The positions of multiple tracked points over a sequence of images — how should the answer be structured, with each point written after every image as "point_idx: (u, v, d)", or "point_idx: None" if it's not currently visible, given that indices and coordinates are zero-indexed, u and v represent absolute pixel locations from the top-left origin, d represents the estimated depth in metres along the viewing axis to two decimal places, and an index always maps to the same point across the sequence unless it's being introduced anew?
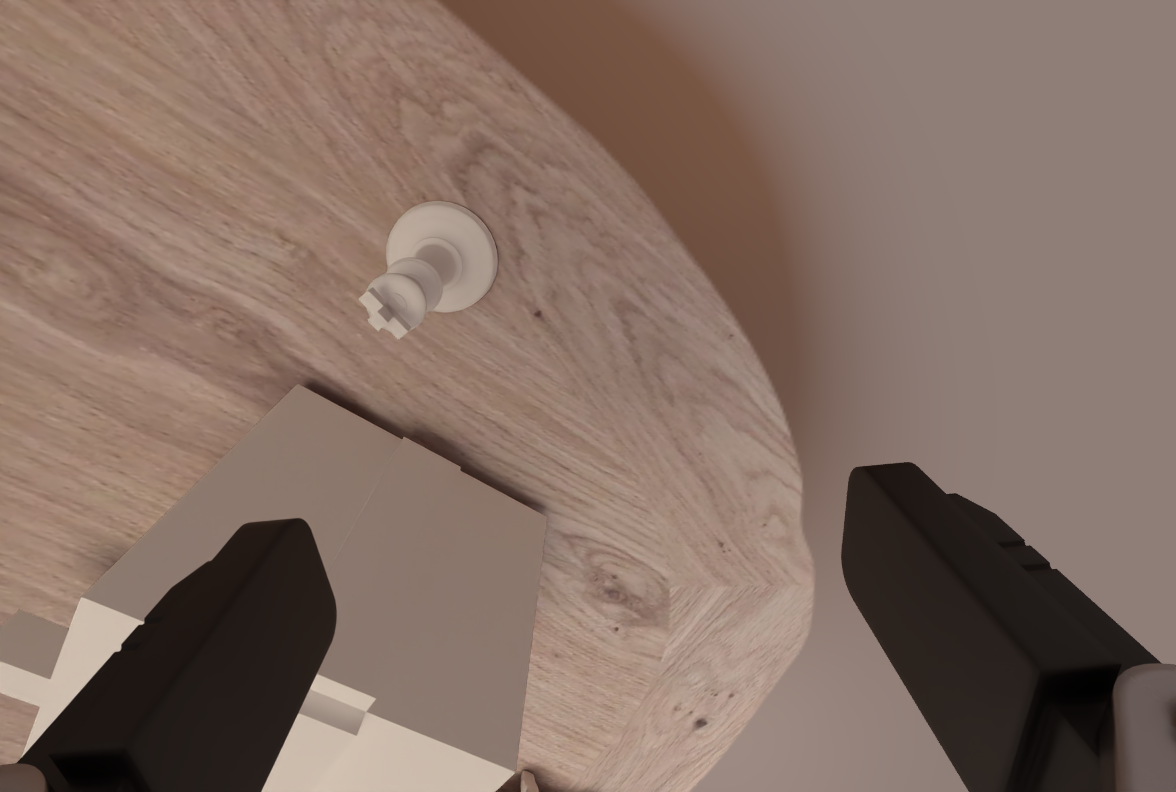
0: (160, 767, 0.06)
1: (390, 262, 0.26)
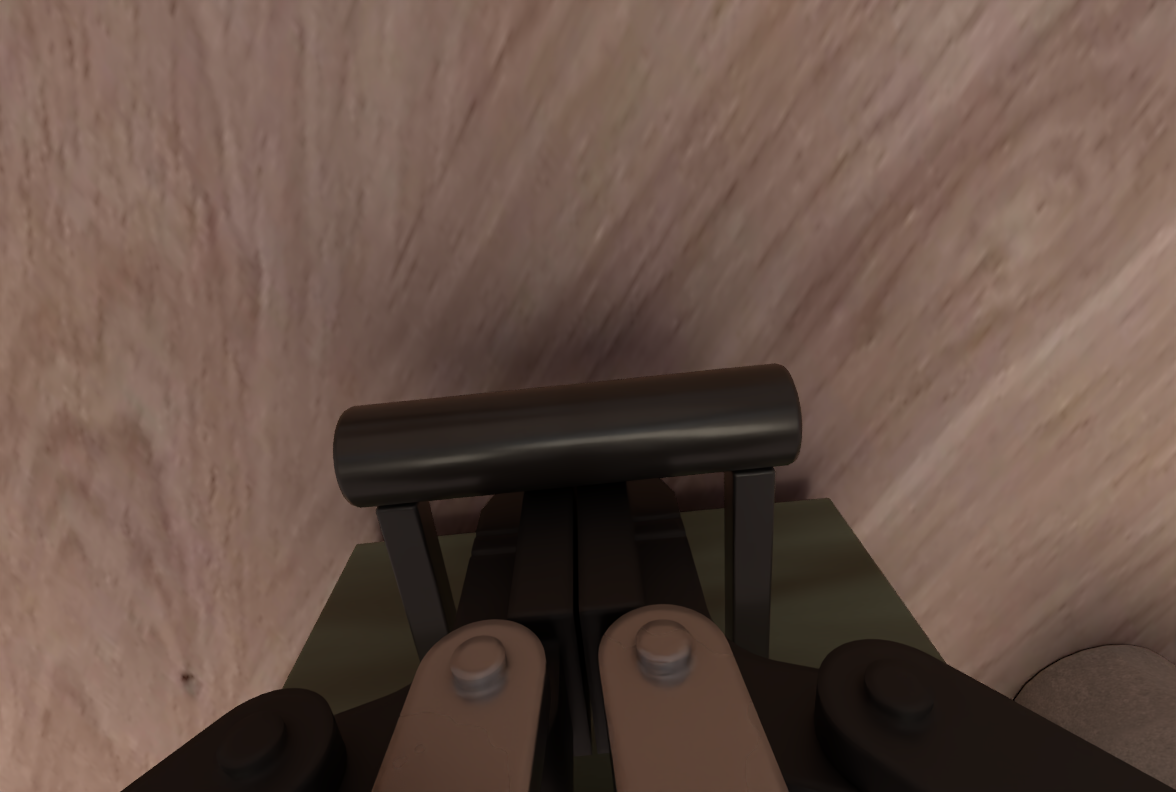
0: (578, 636, 0.06)
1: None
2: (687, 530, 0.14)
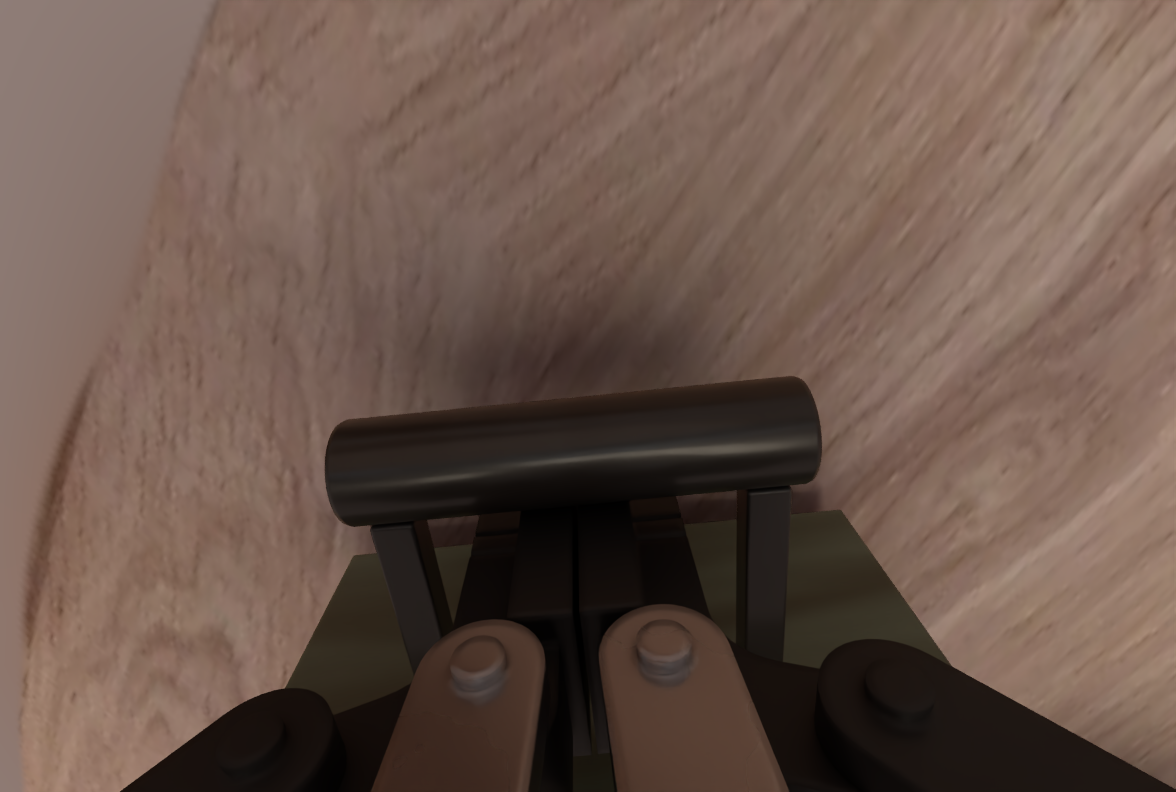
0: (577, 636, 0.06)
1: None
2: (694, 543, 0.14)
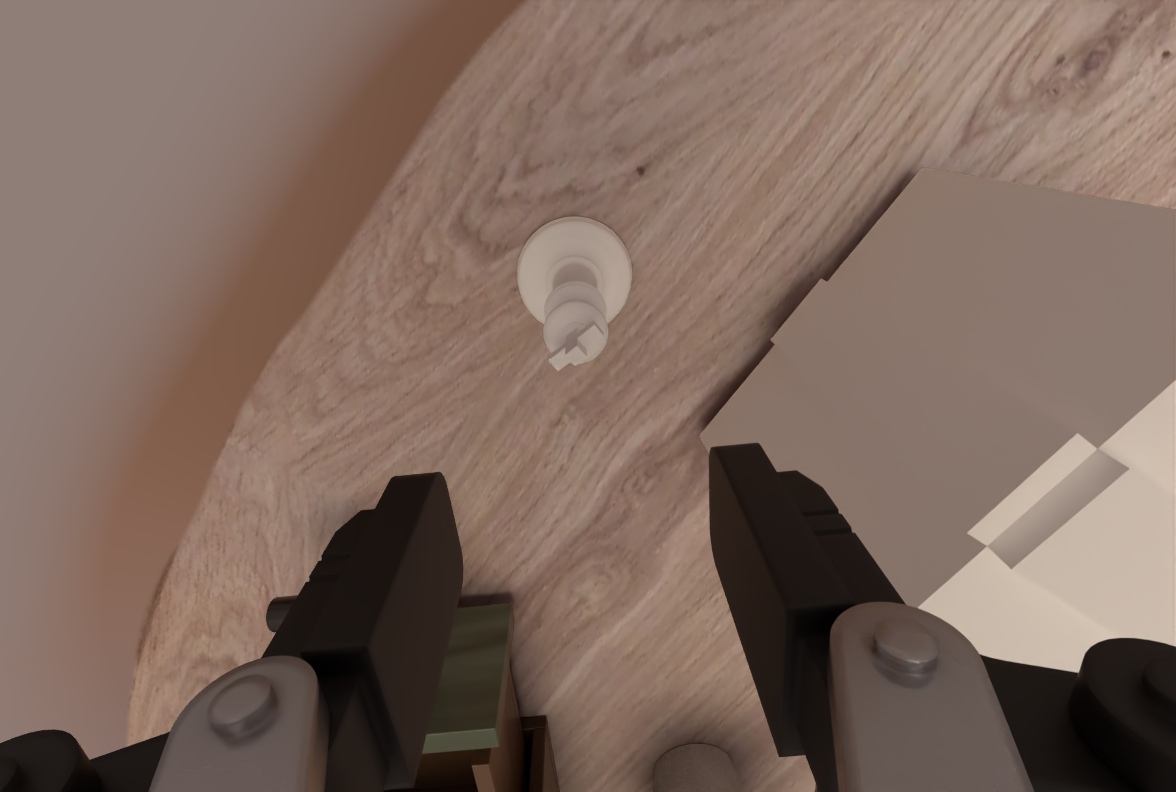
0: (384, 669, 0.06)
1: None
2: None
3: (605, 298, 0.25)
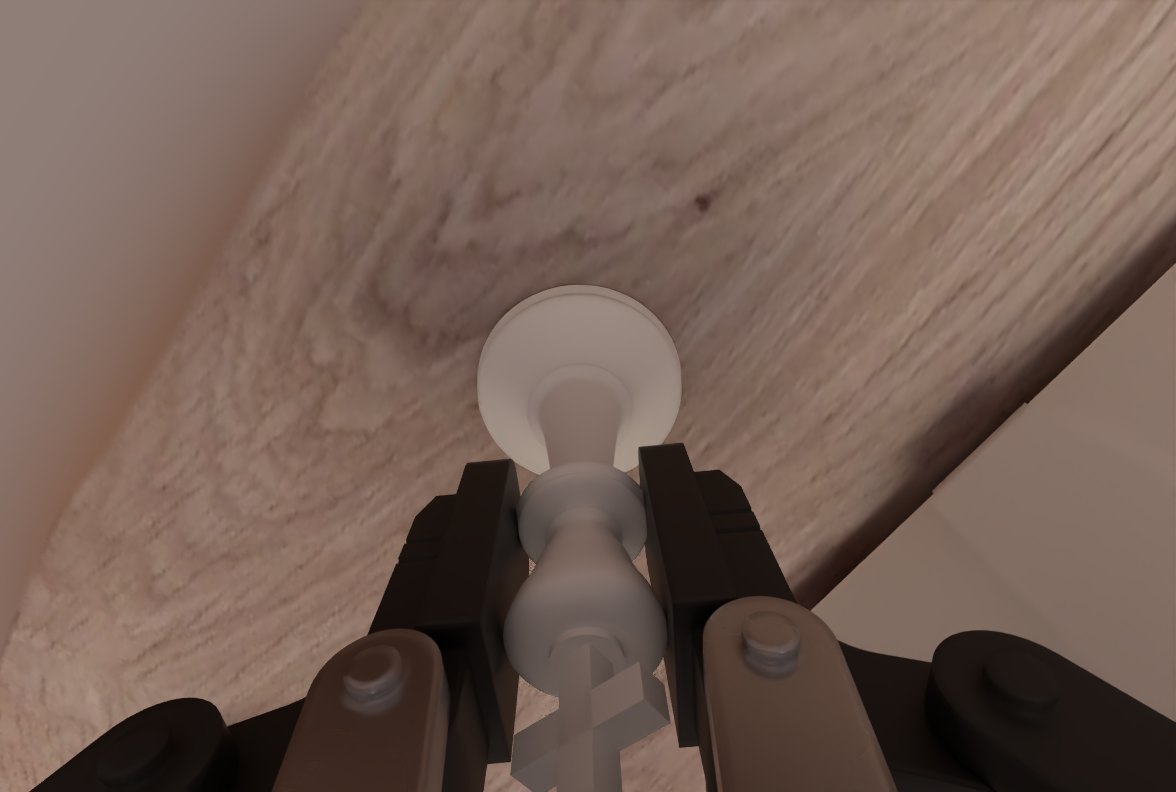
0: (490, 644, 0.06)
1: None
2: None
3: (635, 430, 0.14)
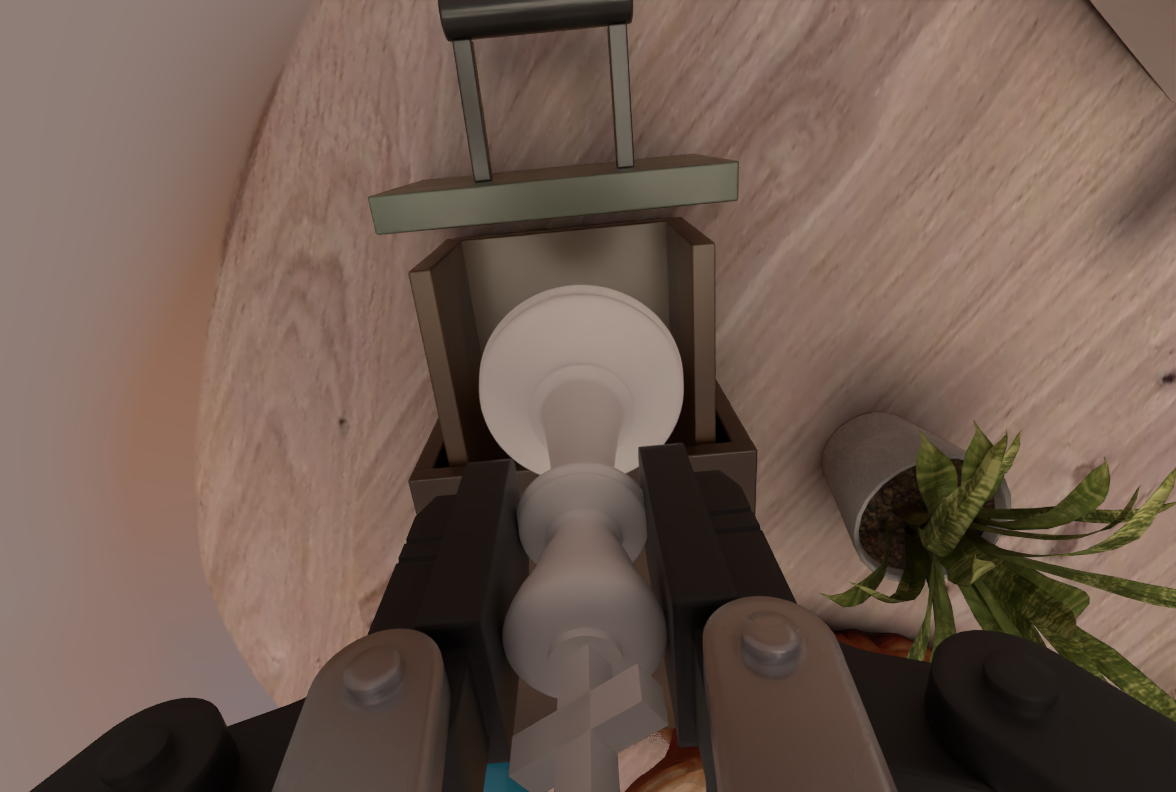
0: (490, 644, 0.06)
1: None
2: (611, 162, 0.25)
3: (636, 431, 0.14)
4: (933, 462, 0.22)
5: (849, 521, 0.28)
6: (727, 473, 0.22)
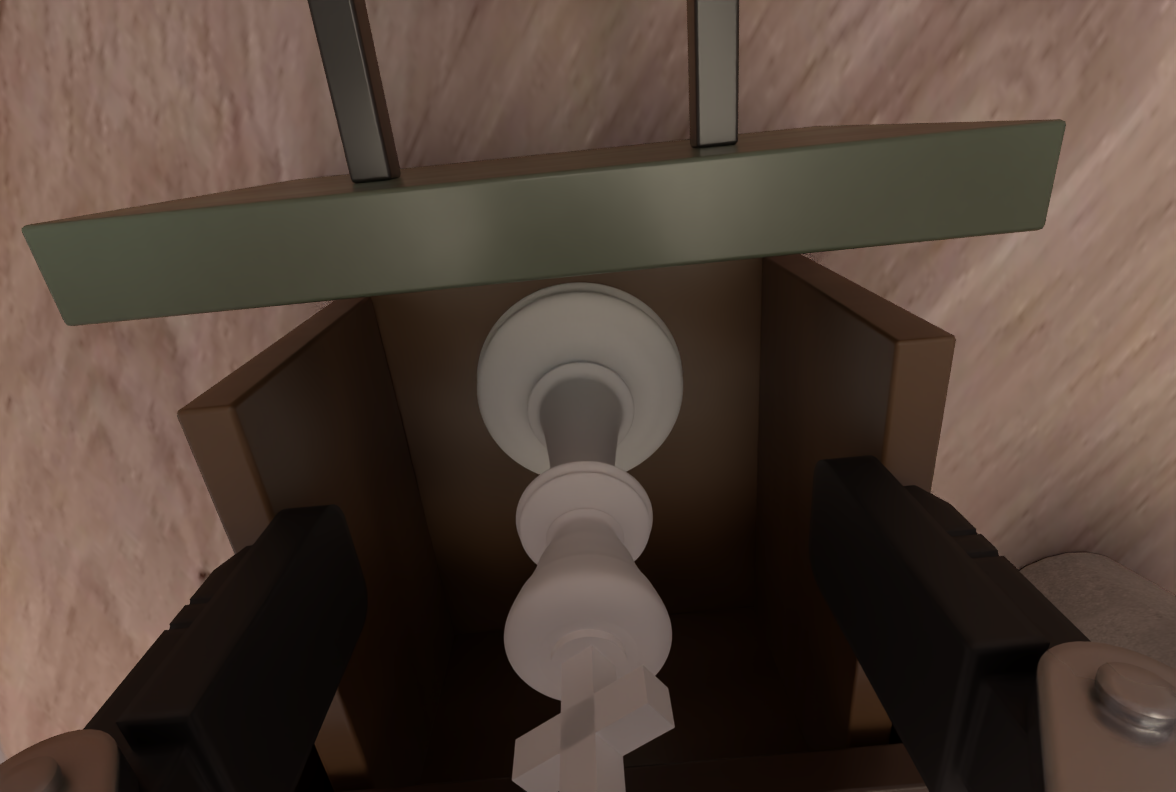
0: (219, 736, 0.06)
1: None
2: (658, 143, 0.13)
3: (636, 429, 0.14)
4: None
5: None
6: None
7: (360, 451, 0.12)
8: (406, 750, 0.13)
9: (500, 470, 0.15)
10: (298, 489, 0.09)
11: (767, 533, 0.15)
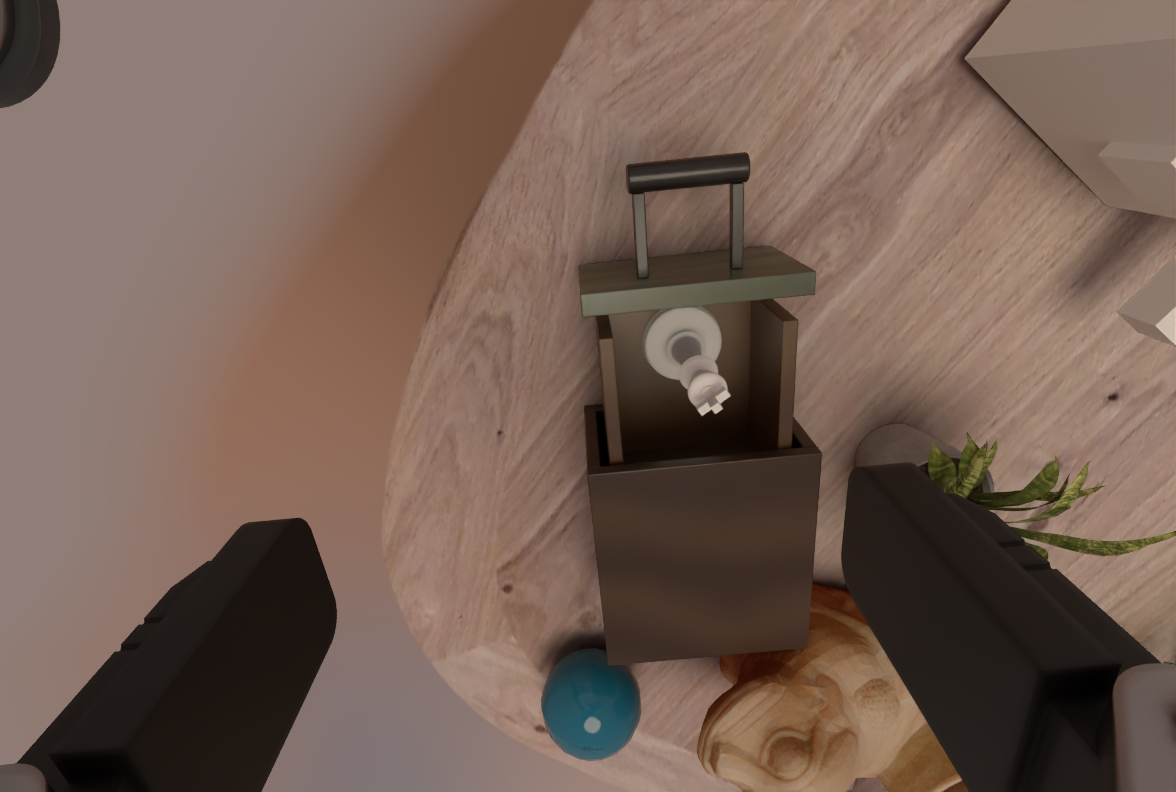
0: (160, 767, 0.05)
1: None
2: (714, 253, 0.35)
3: None
4: (939, 460, 0.33)
5: None
6: (801, 468, 0.33)
7: None
8: None
9: (646, 376, 0.38)
10: None
11: (753, 401, 0.38)
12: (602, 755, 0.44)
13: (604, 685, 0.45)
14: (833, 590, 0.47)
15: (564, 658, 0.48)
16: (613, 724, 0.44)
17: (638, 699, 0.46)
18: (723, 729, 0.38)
